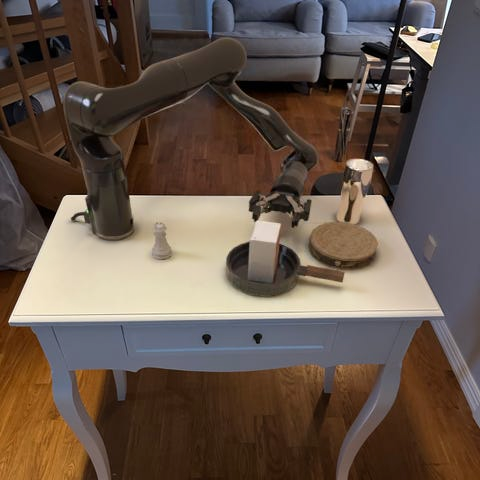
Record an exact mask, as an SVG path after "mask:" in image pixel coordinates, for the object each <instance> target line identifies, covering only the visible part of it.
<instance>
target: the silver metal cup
mask: <svg viewBox="0 0 480 480" xmlns="http://www.w3.org/2000/svg"><path fill="white" fill-rule="evenodd" d="M373 170H374V164H373V163H372V162H371V161H369V160H366V159H364V158H350V159H348V160H347V161H346V162H345V166H344V170H343V173H342V176H341V183H340V204H339V209H338V211H337V213H336V217H335V218H336V221H337V222H347V223H351V224H356V225H358V223H359V222H360V220H361V209H362V207H363V203H364V201H365V199H366V197H367V194H368V192H369V189H370V185H371V182H372V177H373V172H374V171H373Z"/></svg>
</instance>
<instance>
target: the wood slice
mask: <svg viewBox="0 0 480 480" xmlns="http://www.w3.org/2000/svg"><path fill="white" fill-rule="evenodd" d="M378 246H379V242H378V239H377V237H376V236H375V235H374V234H373V233H372V232H371V231H369V230H368V229H367V228H366V227H363V226H360V225H358V224H351V223H347V222H339V221H329V222H328V221H327V222H324V223H322V224H319V225H317V226H316V227H314V228H312V230H311V232H310V234H309V239H308V252H309V253H310V255H311V256H312V257H313V258H314V260H316V261H318V263H321V264H322V265H325V266H326V267H329V268H332V269H335V270H336V269H337V270H342V271H343V270H345V271H353V270H361V269H363V268H365V267H368V266H370V265H371V264H372V263H373V261H374V260H375V257H376V253H377V249H378Z"/></svg>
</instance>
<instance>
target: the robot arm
mask: <svg viewBox="0 0 480 480" xmlns="http://www.w3.org/2000/svg"><path fill="white" fill-rule="evenodd" d="M247 59H248V57H247V51H246V49H245V47H244V46H243V45H242V43H241V42H240V41H238V40H237V39H234V38H232V37H221V38H218V39H216V40H214V41H212V42H211V43H209V44H207V45H205V46H202V47H201V48H198V49H196V50H194V51H190V52H186V53H184V54H181V55H178V56H175V57H173V58H168V59H165V60H161V61H158V62H155V63H152V64H151V65H149V66H147V67H146V68H144V69H143V71H142V72H141V74H140V75H139V78H138V79H137V80H136V81H134V82H133V83H129V84H126V85H123V86H118V87H112V88H109V87H103V86H100V85H97V84H94V83H91V82H89V81H81V80H80V81H75V82H73V83H71V84H70V85H69V86H68V87H67V89H66V91H65V93H64V95H63V112H64V119H65V122H66V126H67V130H68V134H69V137H70V141H71V144H72V147H73V150H74V152H75V154H76V156H77V157H78V159H79V162H80V165H81V170H82V174H83V179H84V182H85V187H86V192H87V195H86V196H85V197H84V200H85V201H84V202H85V205H86V210H84V211H80V212H79V211H78V212H76V213H74V214H73V215H72V216H71V217H70V218H71V219H70V220H71V221H76V219H77V218H78V217H81V216H82V217H83V219H84V223H85V224H88V225H90V227H91V232H92V234H95V235H96V236H97V237H98V238H100V239H102V240H107V241H119V240H123V239H125V238H128V237H130V236H131V235H132V234H133V233H134V232H135V229H136V228H135V221H134V218H135V217H134V216H133V211H132V204H131V198H130V197H131V196H130V192H129V186H128V185H129V183H128V178H127V172H126V164H125V159H124V153H123V150H122V148H121V147H120V146H119V144H117V143H116V142H115V141H114V140H113V138H112V137H113V136H115V135H117V134H119V133H121V132H122V131H124V130H126V129H127V128H129V127H130V126H133V125H134V124H135V123H137V122H139V121H140V120H142V119H144V118H147V117H149V116H152V115H155V114H156V113H160V112H161V111H163V110H166V109H169V108H172V107H175V106H176V105H179V104H181V103H183V102H186V101H187V100H189V99H190V98H192V97H193V96H194V95H196V94H197V93H198V92H199V91H200V90H202V89H203V88H204V87H205V86H206V85H209V86H210V87H211V88H212V89H213V90H214V91H215V92H216V93H217V94H218V95H219V96H220V97H222V99H224V100H225V101H226V102H227V103H228V104H229V105H230V106H231V107H232V108H233V109H235V110H236V112H238V113H239V114H240V115H241V116H242V117H243V118H245V120H246V121H248V122H249V123H250V124H251V126H253V128H254V129H255V130H256V131H257V132H258V133H259V135H260V136H261V138H262V139H263V140H264V142H266V144H267V145H268V146H269V147H270V148H271V150H273V151H274V152H278V151H281V150H282V149H283V148H285V147H290V148H292V149H293V150H291V152H289V153H288V154H287V155H286V156H285V157H284V158H283V159H282V160H281V162H280V164H279V168H280V172H279V173H278V175H277V176H276V178H275V179H274V181H273V184H272V186H271V189H270V190H269V193H267V194H265V195H263V194H261V192H260V191H259V190H256V191H254V193H253V194H252V196H251V198H250V199H249V200H248V212H249V213H251V219H252V220H253V222H254V223H256V221H257V220H258V221H259V219H260V217H261V215H262V214H269V213H271V212H275V213H277V212H278V213H282V214H287V215H288V216H289V217H290V219H291V224H290V229H295V227H296V228H297V227H298V226H299V224H300V221H301V220H303V221H304V222H308V221H309V219H310V213H311V208H312V202H313V200H312V199H310V198H308V199H306V201H302V200H301V199H302V195H303V193H304V190H305V185H306V182H307V179H308V172H310V170H312V169H313V168H314V167H316V166H317V165H318V163H319V159H320V157H319V153H318V150H317V149H316V147H315V146H314V145H312V144H311V143H310V142H308V141H307V140H305V139H304V138H302V137H301V136H300V135H298V134H297V133H296V132H295V131H294V130H293V129H292V128H291V127H290V126H289V125H288V124H287V122H286V121H285V120H284V118H283V117H282V116H281V115H280V114H279V112H278V111H277V110H276V109H274V108H273V107H272V106H270V105H268V104H267V103H265V102H262V101H260V100H257V99H256V98H253V97H250V96H249V95H248V94H246V93H245V92H244V91H242V89H241V88H240V87H239V86H238V85H237V83H236V82H235V81H236V80H237V79H238V77H239V76H240V75H241V74H242V72H243V71H244V69H245V67H246V64H247Z"/></svg>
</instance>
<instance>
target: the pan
mask: <svg viewBox="0 0 480 480" xmlns="http://www.w3.org/2000/svg"><path fill="white" fill-rule="evenodd" d="M249 247H250V240H248V241H246V242H242V243H240V244H238V245H236V246H234V247H232V249H231V250H229V252H228V253H227V255H226V261H225V274H226V277H227V280H228V281H229V282H230V283H231V285H232V286H233V287H235V288H237V289H238V290H240V291H242V292H244V293H247V294H249V295H255V296H265V297H267V296H268V297H269V296H275V295H280V294H284V293H286V292H288V291H289V290H291V289H293V288H294V287H295V286H296V284H297V283H298V282H299V278H300V275H298V274H299V270H300V267H301V265H302V264H301V258H300V257H299V255H298V254H297V253H296V252H295V251H294V250H293V249H292V248H290V247H288V246H287V245H285V244H282V243H279V252H278V261H277V267H276V271H275V275H274V279H273V282H272V283H265V282H258V281H251V280H248V267H249Z"/></svg>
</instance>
